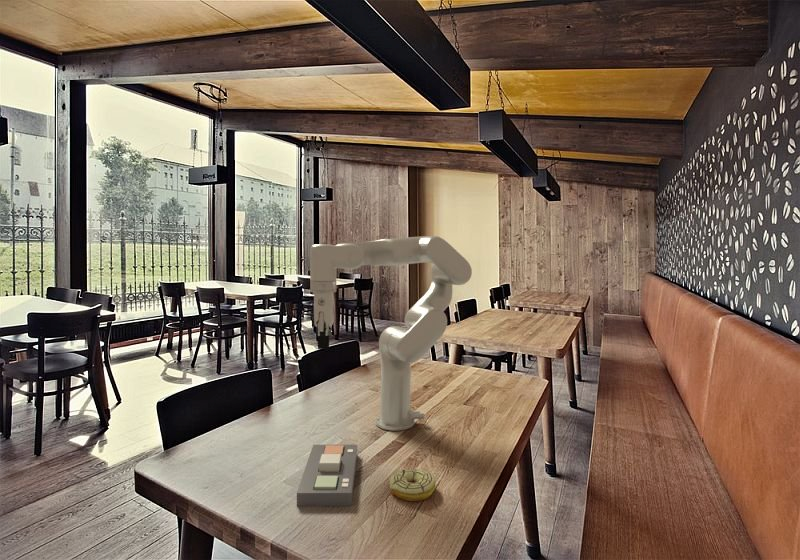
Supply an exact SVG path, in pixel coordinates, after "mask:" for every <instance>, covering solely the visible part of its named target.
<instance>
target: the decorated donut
mask: <svg viewBox="0 0 800 560" xmlns="http://www.w3.org/2000/svg"><path fill="white" fill-rule="evenodd" d="M389 490H390V491H391V494H392V495H394V496H396V497H397V498H398V499H401V500H403V501H408V502H420V501H424V500H427V499H429V498H430V497H431V495H433V493H434V491H435V490H436V478H435V476H434V475H433V474H432V473H430V472H428V471H426V470H423V469H418V468H408V469H407V468H406V469H402V470H400V471H397V472H395V473H394V474H393V475H391V477H390V478H389Z"/></svg>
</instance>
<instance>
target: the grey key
mask: <svg viewBox="0 0 800 560" xmlns="http://www.w3.org/2000/svg"><path fill="white" fill-rule="evenodd" d="M340 468H341V454H322V455H321V459H320V462H319V472H340Z"/></svg>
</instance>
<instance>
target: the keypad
mask: <svg viewBox="0 0 800 560" xmlns="http://www.w3.org/2000/svg"><path fill="white" fill-rule="evenodd" d="M326 445H327V444H313V445H312V448H311V450H310V453H309V456H308V459H307V462H306V465H305V468H304V472H303V473H302V476H301V479H300V483H299V486H298V488H297V492H296V506H297V507H342V506H343V507H351V506H352V502H353V493H354V486H355V477H356V476H355V475H356V469H357V459H358V444H343V445H344V454H343V456H341V468H340V472H319V462H320V459H321V455H322V454H324V450H325V447H326ZM317 476H338V487H337V490H314V486H315V482H316V479H317Z"/></svg>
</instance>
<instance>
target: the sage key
mask: <svg viewBox="0 0 800 560" xmlns="http://www.w3.org/2000/svg"><path fill="white" fill-rule="evenodd" d="M337 487H338V476H317V479H316V482H315V486H314V490H337Z"/></svg>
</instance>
